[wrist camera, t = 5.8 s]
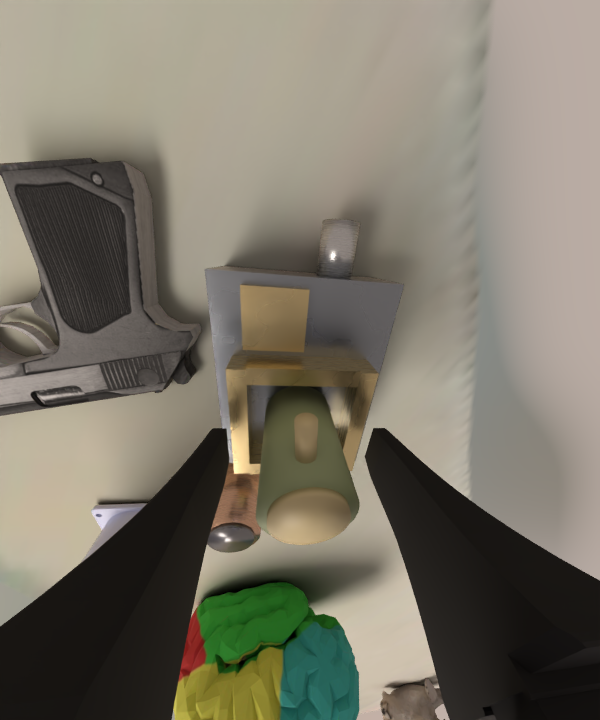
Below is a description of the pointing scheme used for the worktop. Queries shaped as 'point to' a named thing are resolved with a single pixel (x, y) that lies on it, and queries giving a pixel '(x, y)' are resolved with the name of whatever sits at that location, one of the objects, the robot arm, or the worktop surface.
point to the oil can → (303, 471)
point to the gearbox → (299, 341)
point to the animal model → (412, 702)
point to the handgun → (90, 289)
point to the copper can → (236, 513)
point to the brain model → (266, 660)
